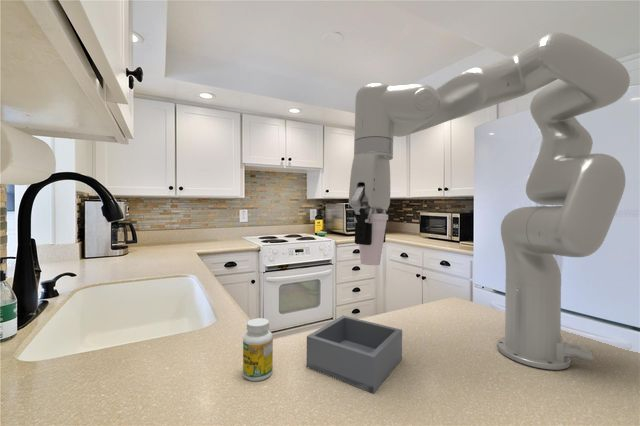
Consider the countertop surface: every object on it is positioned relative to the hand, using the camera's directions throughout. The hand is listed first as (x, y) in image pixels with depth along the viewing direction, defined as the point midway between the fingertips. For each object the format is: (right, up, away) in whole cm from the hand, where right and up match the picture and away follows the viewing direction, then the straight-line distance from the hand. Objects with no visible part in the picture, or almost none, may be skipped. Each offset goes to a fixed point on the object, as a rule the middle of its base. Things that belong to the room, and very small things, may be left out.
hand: (370, 242), depth 56 cm
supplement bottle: (-21, -24, -3) cm, 32 cm away
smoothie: (0, -4, 0) cm, 4 cm away
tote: (-3, -24, +1) cm, 24 cm away
